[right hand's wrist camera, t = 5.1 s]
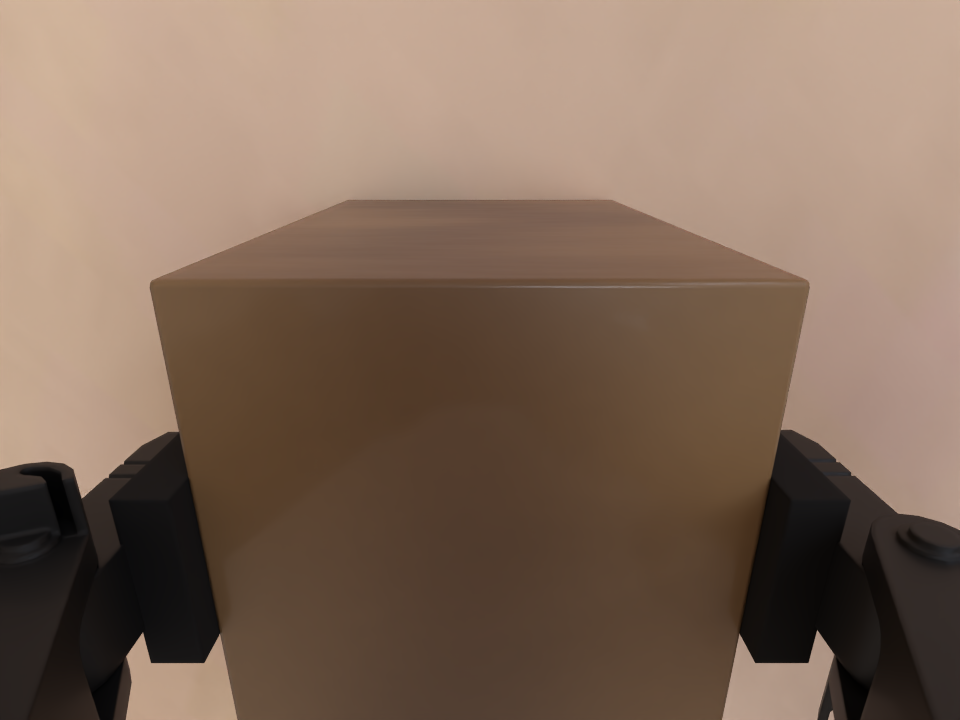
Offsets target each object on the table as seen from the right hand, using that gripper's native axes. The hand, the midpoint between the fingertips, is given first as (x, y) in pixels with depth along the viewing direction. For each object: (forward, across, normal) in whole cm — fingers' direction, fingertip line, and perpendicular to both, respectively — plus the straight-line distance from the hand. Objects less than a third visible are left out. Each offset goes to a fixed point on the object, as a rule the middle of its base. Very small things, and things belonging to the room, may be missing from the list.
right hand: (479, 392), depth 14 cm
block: (+5, 0, 0) cm, 5 cm away
